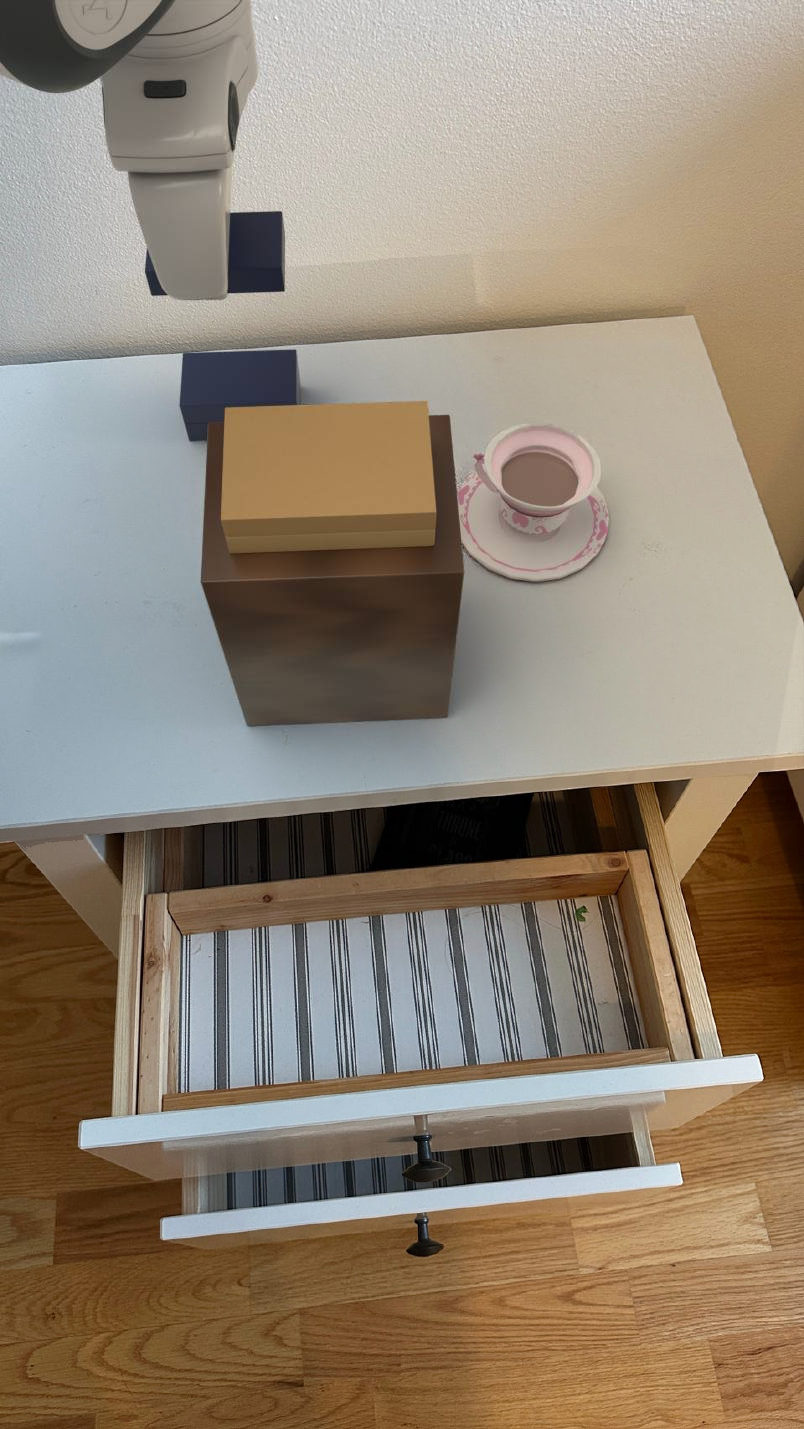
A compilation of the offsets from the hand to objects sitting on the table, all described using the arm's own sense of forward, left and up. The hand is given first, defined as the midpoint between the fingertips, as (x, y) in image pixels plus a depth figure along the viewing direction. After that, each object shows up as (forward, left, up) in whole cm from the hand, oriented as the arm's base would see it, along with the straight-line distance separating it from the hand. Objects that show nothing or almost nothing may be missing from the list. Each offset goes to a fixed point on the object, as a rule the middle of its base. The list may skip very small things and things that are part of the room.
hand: (216, 257), depth 67 cm
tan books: (+18, -16, +3) cm, 24 cm away
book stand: (+18, -16, -15) cm, 28 cm away
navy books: (0, 0, -15) cm, 15 cm away
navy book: (0, 0, -1) cm, 1 cm away
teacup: (+25, +1, -15) cm, 29 cm away
